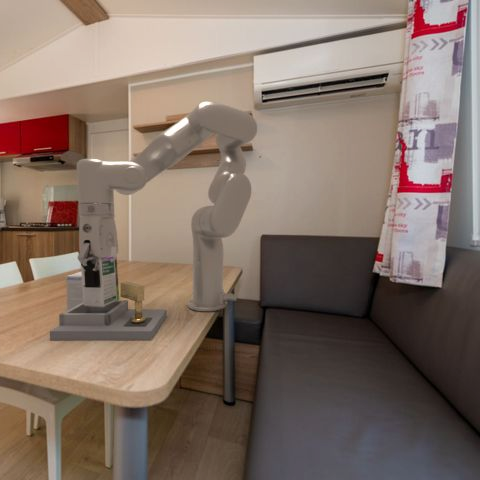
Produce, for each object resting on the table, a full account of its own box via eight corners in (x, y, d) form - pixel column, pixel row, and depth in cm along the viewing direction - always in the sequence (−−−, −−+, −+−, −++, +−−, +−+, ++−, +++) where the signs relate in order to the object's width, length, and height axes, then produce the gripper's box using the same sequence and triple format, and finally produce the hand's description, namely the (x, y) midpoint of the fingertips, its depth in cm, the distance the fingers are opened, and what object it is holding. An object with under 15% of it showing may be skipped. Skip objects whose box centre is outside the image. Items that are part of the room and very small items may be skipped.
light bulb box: (86, 301, 80) (86, 268, 79) (108, 301, 80) (107, 268, 79) (65, 313, 69) (65, 275, 68) (90, 313, 69) (90, 275, 69)
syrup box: (103, 307, 58) (100, 247, 57) (82, 306, 60) (79, 247, 59) (119, 300, 64) (117, 245, 63) (100, 298, 65) (97, 244, 64)
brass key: (136, 324, 56) (136, 288, 56) (117, 316, 61) (117, 283, 60) (148, 319, 59) (148, 285, 59) (129, 313, 63) (129, 280, 63)
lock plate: (166, 316, 68) (166, 300, 68) (151, 340, 54) (151, 320, 54) (86, 316, 67) (86, 300, 66) (49, 340, 53) (49, 319, 53)
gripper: (93, 210, 52) (97, 292, 53) (127, 213, 69) (129, 275, 70) (57, 210, 51) (62, 293, 53) (99, 213, 69) (102, 275, 70)
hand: (100, 282), depth 61 cm, fingers closed on syrup box, 6 cm apart
